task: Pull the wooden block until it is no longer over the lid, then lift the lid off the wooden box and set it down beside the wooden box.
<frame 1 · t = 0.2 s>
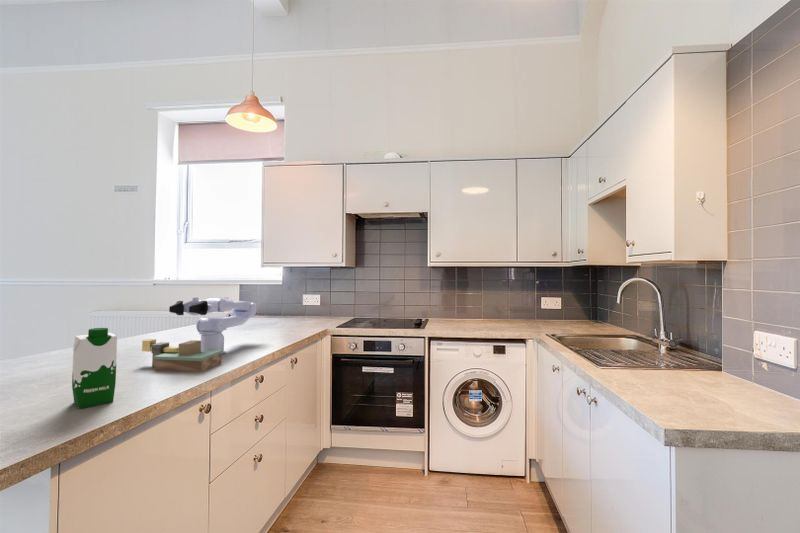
hand: (180, 309, 132), 21 cm above the countertop, tool horizontal, fingers open, 7 cm apart
lid: (189, 355, 133), point 4 cm above the countertop, touching wooden box
milk carton: (93, 402, 96), on the countertop
wooden box: (189, 366, 133), on the countertop
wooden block: (161, 345, 134), point 7 cm above the countertop, slide at 0.0 cm
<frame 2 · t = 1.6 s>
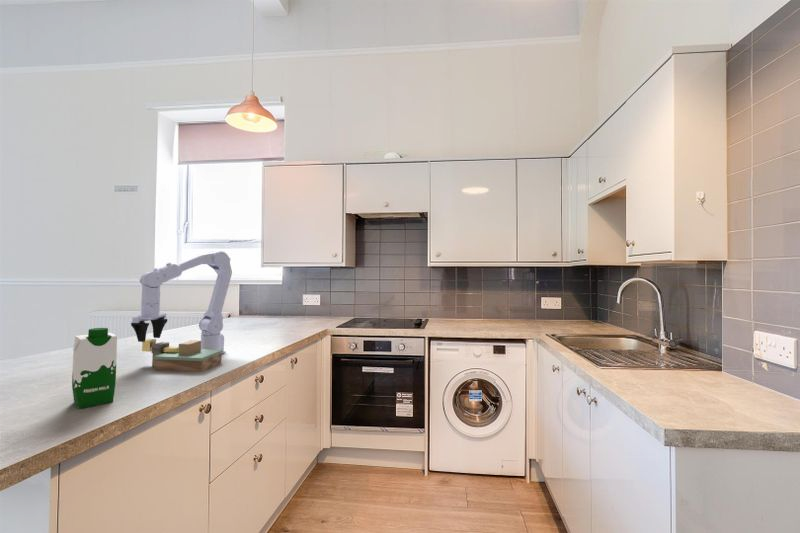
hand: (149, 339, 134), 9 cm above the countertop, tool pointing down, fingers open, 7 cm apart
nothing on the countertop moved.
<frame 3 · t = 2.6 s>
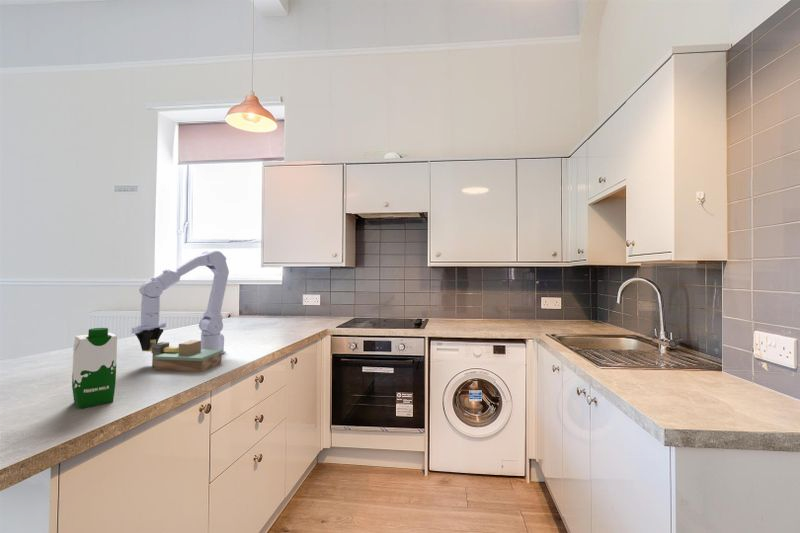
hand: (149, 349, 134), 6 cm above the countertop, tool pointing down, fingers closed on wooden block, 3 cm apart
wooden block: (161, 345, 134), point 7 cm above the countertop, slide at 0.0 cm, touching gripper
everything else where it was.
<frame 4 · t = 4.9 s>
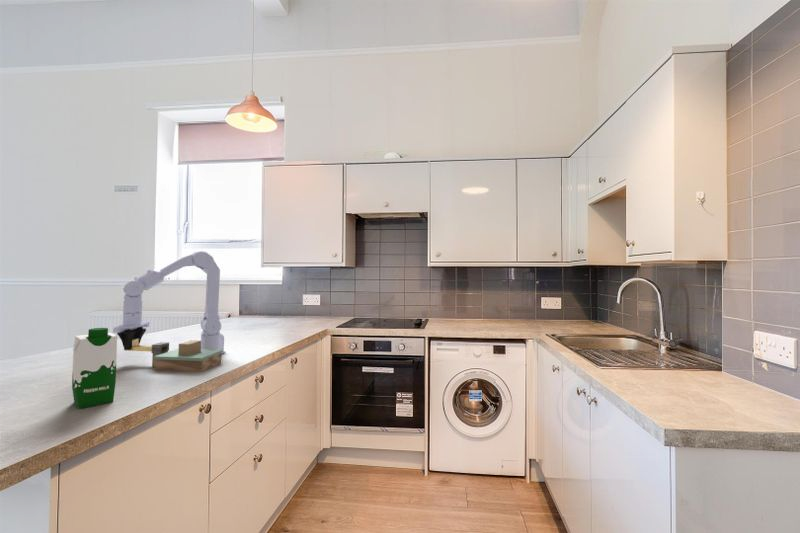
hand: (131, 348, 135), 6 cm above the countertop, tool pointing down, fingers closed on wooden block, 3 cm apart
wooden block: (144, 345, 134), point 7 cm above the countertop, slide at 7.0 cm, touching gripper
everything else where it was.
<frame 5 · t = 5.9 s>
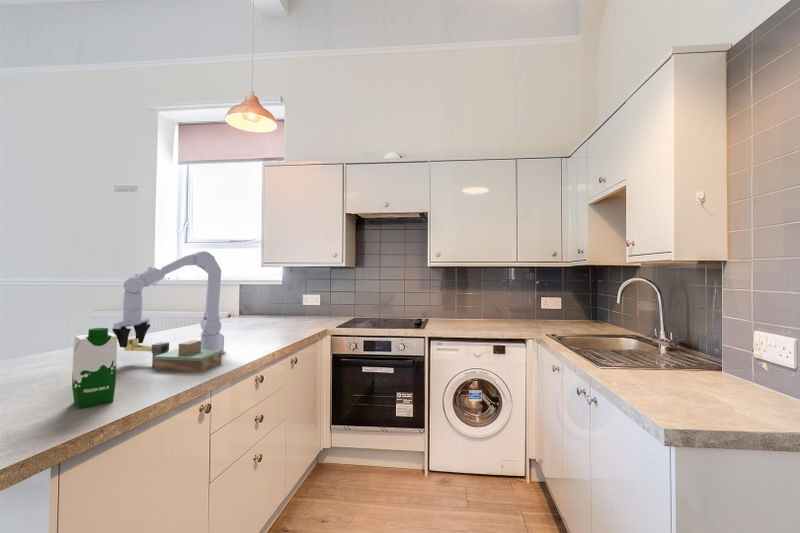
hand: (131, 345, 135), 7 cm above the countertop, tool pointing down, fingers open, 7 cm apart
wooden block: (144, 345, 134), point 7 cm above the countertop, slide at 7.0 cm
everything else where it was.
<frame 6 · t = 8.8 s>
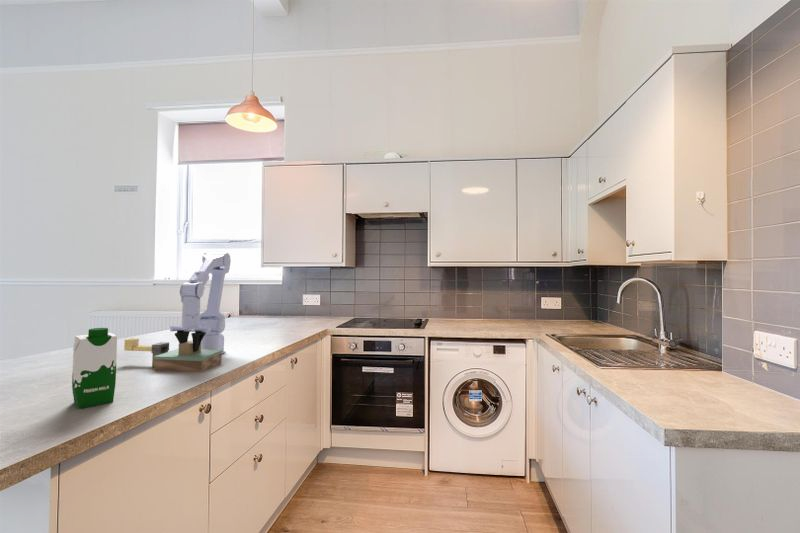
hand: (189, 351, 133), 6 cm above the countertop, tool pointing down, fingers closed on lid, 4 cm apart
lid: (189, 355, 133), point 4 cm above the countertop, touching gripper, wooden box
everything else where it was.
when the fingers open (4 cm above the countertop, at t = 13.5 s): lid drops 1 cm, on the countertop.
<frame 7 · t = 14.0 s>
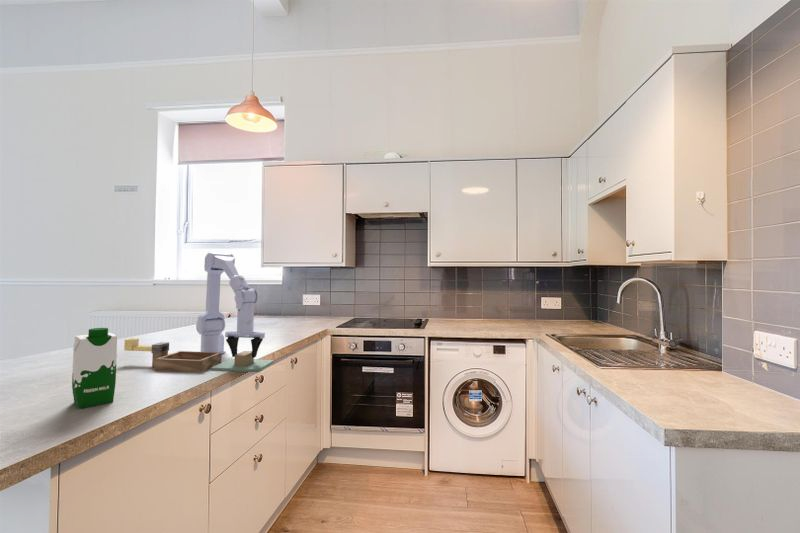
hand: (244, 356, 135), 4 cm above the countertop, tool pointing down, fingers open, 7 cm apart
lid: (244, 366, 135), on the countertop
everything else where it was.
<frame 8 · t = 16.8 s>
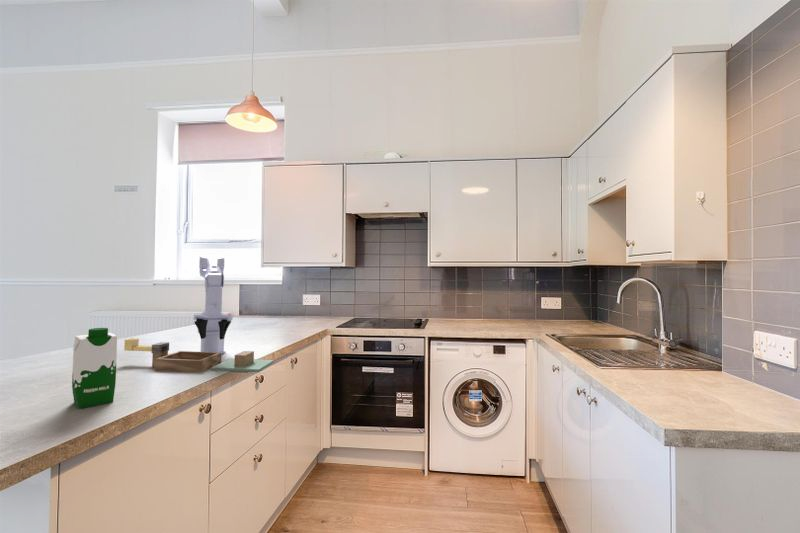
hand: (212, 338, 139), 9 cm above the countertop, tool pointing down, fingers open, 7 cm apart
nothing on the countertop moved.
at the end: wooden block slide at 7.0 cm; lid inside the target area (0.1 cm from its centre), on the countertop; lid tilted 0° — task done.
